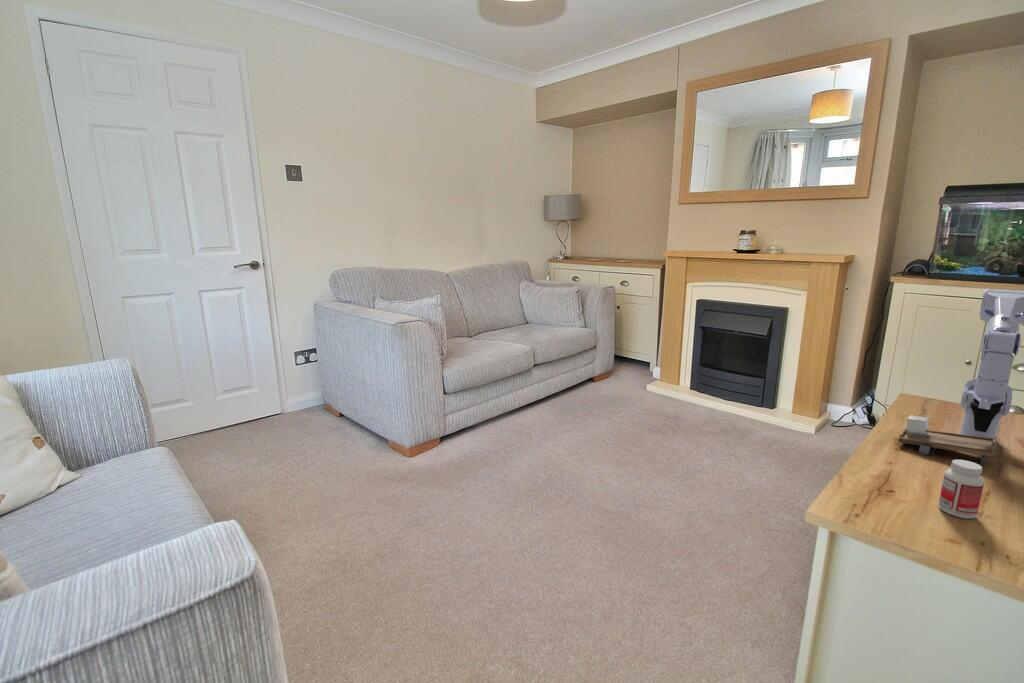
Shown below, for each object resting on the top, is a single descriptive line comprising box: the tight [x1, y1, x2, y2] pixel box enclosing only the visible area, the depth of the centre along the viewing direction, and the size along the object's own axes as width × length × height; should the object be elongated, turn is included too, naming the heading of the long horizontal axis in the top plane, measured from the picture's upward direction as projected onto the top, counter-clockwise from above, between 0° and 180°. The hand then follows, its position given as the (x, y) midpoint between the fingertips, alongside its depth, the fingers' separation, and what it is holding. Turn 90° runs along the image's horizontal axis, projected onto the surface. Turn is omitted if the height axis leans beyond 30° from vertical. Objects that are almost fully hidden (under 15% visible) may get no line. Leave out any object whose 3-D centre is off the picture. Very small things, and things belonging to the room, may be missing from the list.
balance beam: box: [898, 426, 998, 457], centre depth 130 cm, size 11×18×2 cm, turn 41°
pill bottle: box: [938, 459, 985, 520], centre depth 102 cm, size 6×6×11 cm
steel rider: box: [906, 415, 929, 439], centre depth 135 cm, size 4×4×5 cm
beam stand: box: [901, 443, 987, 467], centre depth 131 cm, size 14×17×3 cm
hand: (981, 429), depth 125 cm, fingers open, 4 cm apart
